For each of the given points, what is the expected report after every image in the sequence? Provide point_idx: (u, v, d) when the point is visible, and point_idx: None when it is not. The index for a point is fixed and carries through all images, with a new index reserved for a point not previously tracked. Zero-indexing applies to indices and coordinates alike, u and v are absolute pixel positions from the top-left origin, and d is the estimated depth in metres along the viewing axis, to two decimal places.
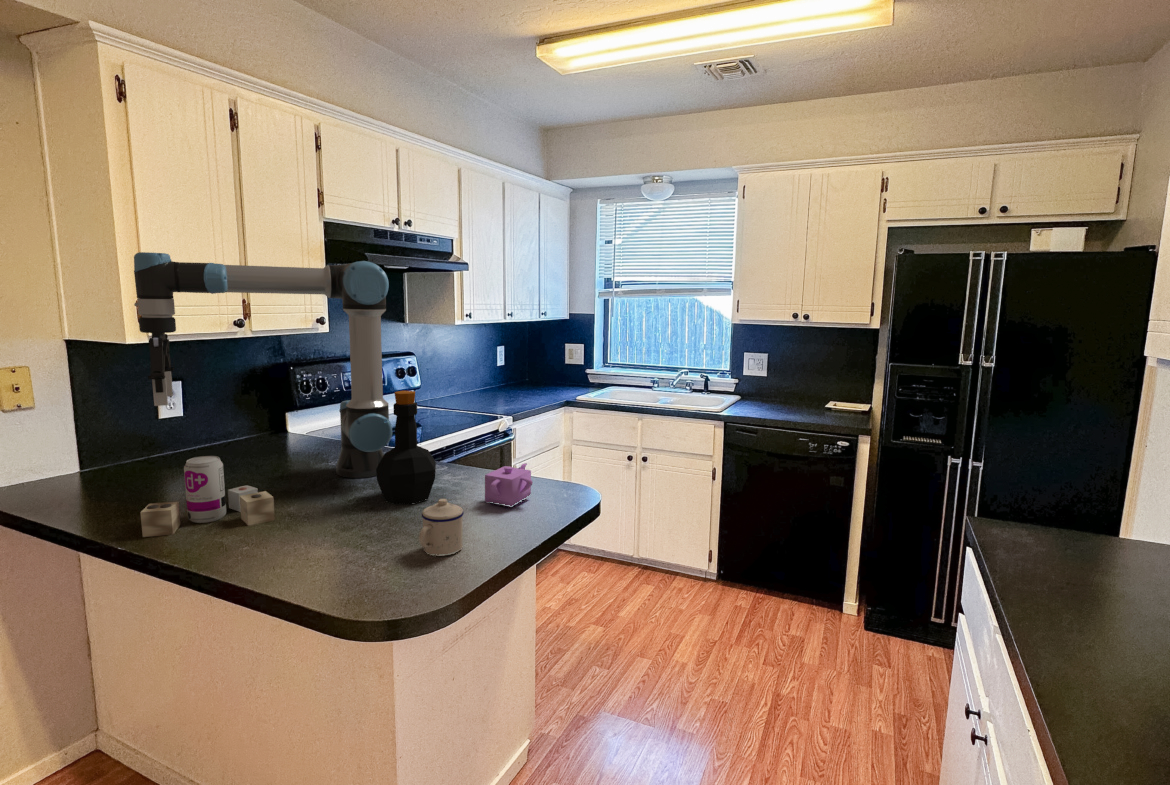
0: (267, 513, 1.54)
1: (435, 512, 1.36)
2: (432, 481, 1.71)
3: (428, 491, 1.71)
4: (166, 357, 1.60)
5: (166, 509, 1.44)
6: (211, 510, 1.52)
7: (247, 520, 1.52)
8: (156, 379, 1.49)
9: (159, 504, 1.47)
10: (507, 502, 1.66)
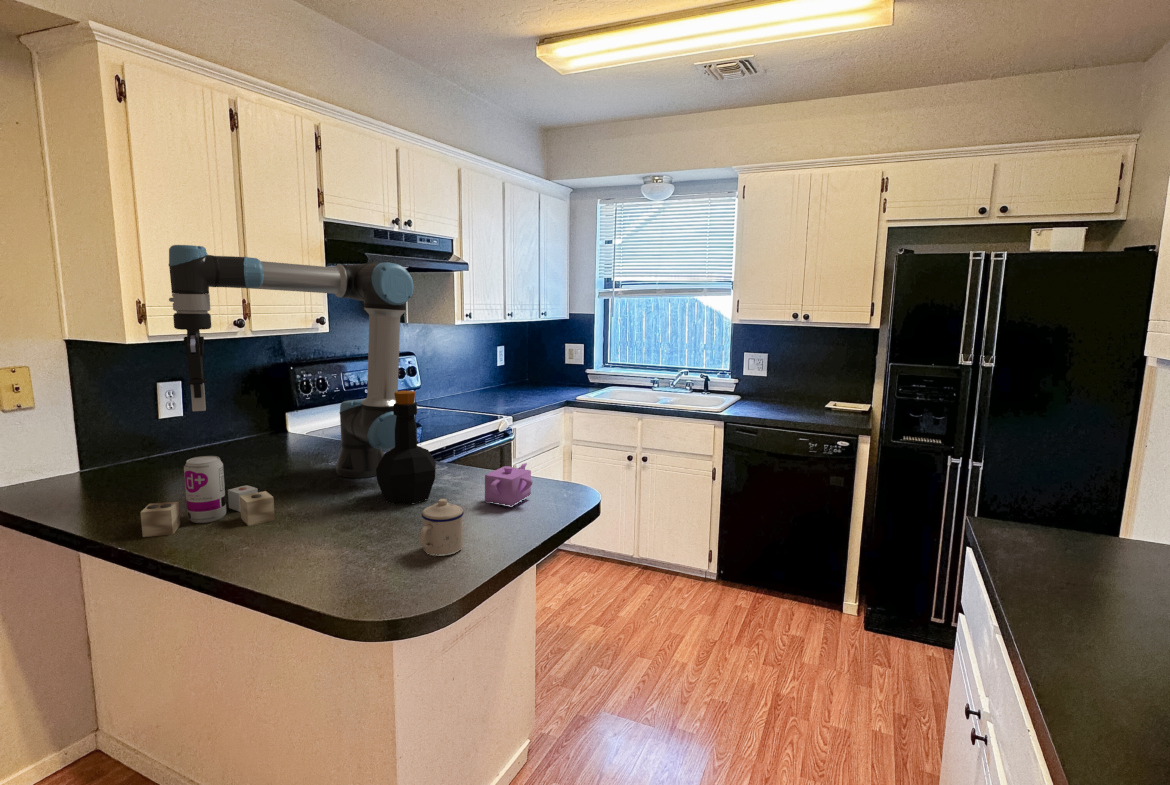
0: (267, 513, 1.54)
1: (435, 512, 1.36)
2: (432, 481, 1.71)
3: (428, 491, 1.71)
4: None
5: (166, 509, 1.44)
6: (211, 510, 1.52)
7: (247, 520, 1.52)
8: (195, 384, 1.48)
9: (159, 504, 1.47)
10: (507, 502, 1.66)
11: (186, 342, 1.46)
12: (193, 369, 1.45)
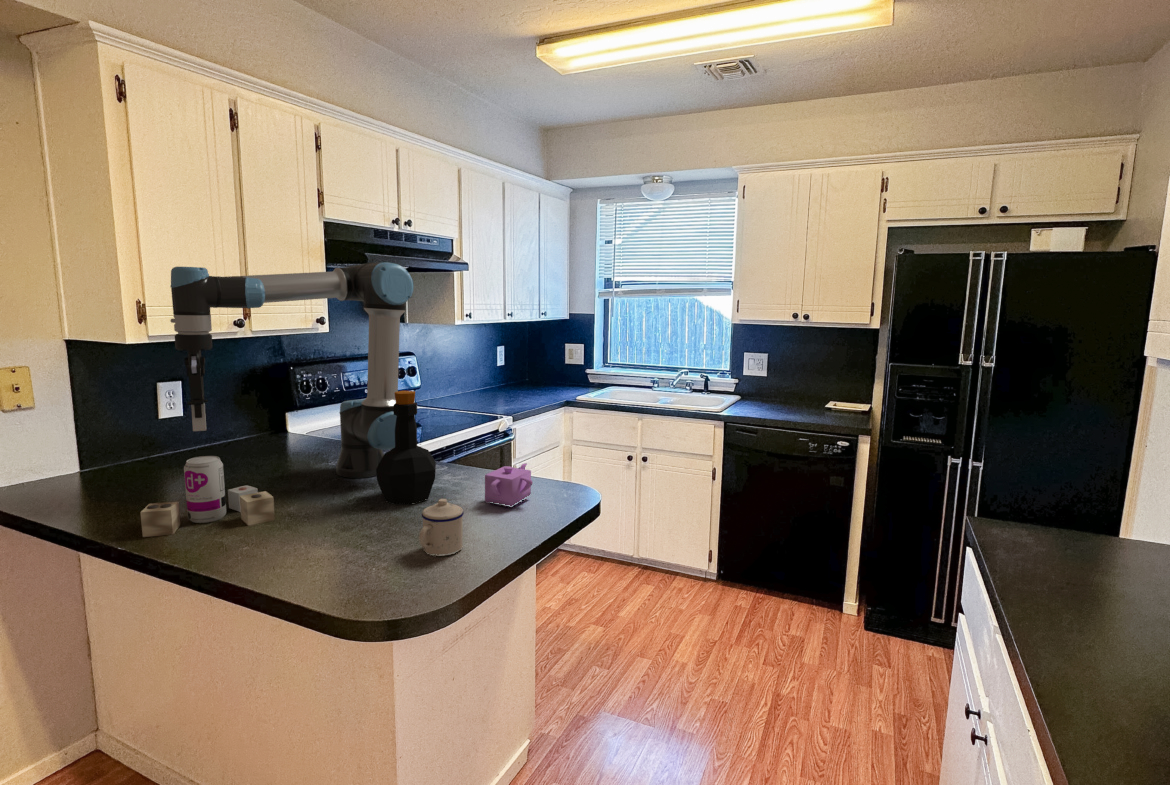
0: (267, 513, 1.54)
1: (435, 512, 1.36)
2: (432, 481, 1.71)
3: (428, 491, 1.71)
4: None
5: (166, 509, 1.44)
6: (211, 510, 1.52)
7: (247, 520, 1.52)
8: (195, 405, 1.49)
9: (159, 504, 1.47)
10: (507, 502, 1.66)
11: (187, 363, 1.47)
12: (194, 390, 1.46)
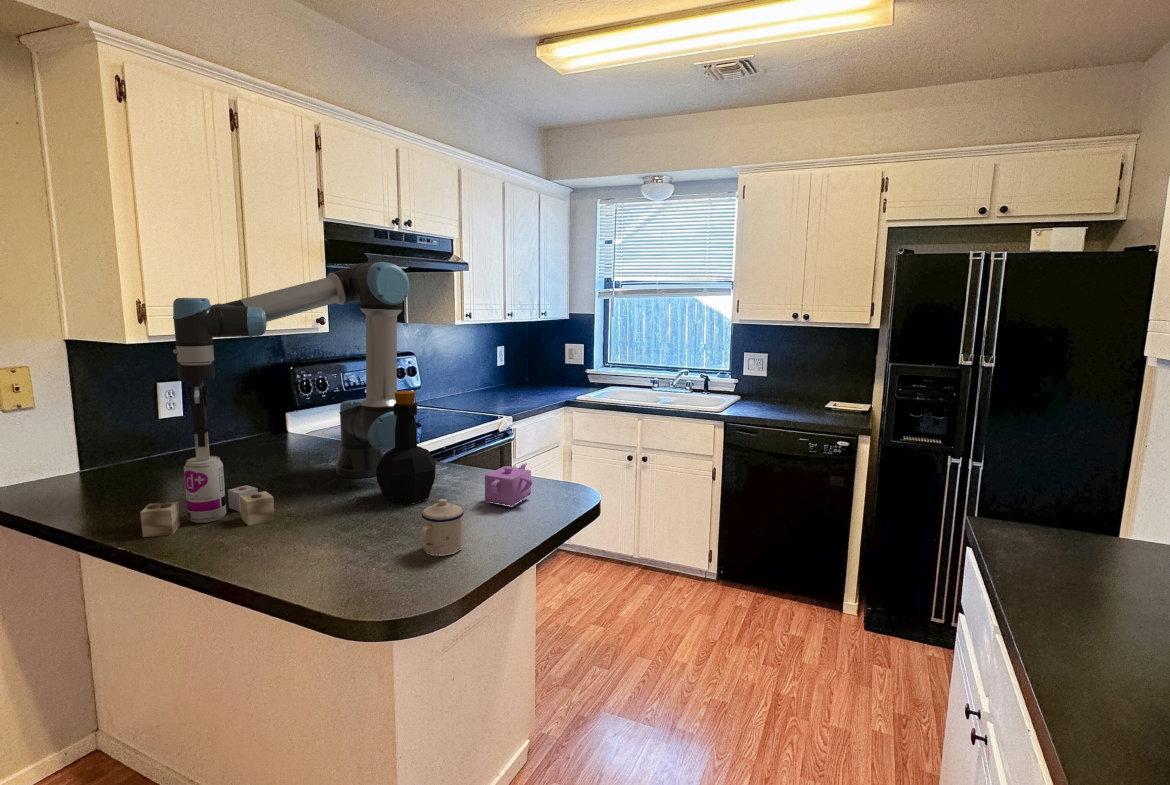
0: (267, 513, 1.54)
1: (435, 512, 1.36)
2: (432, 481, 1.71)
3: (428, 491, 1.71)
4: None
5: (166, 509, 1.44)
6: (211, 510, 1.52)
7: (247, 520, 1.52)
8: (199, 434, 1.50)
9: (159, 504, 1.47)
10: (507, 502, 1.66)
11: (190, 393, 1.48)
12: (197, 420, 1.47)
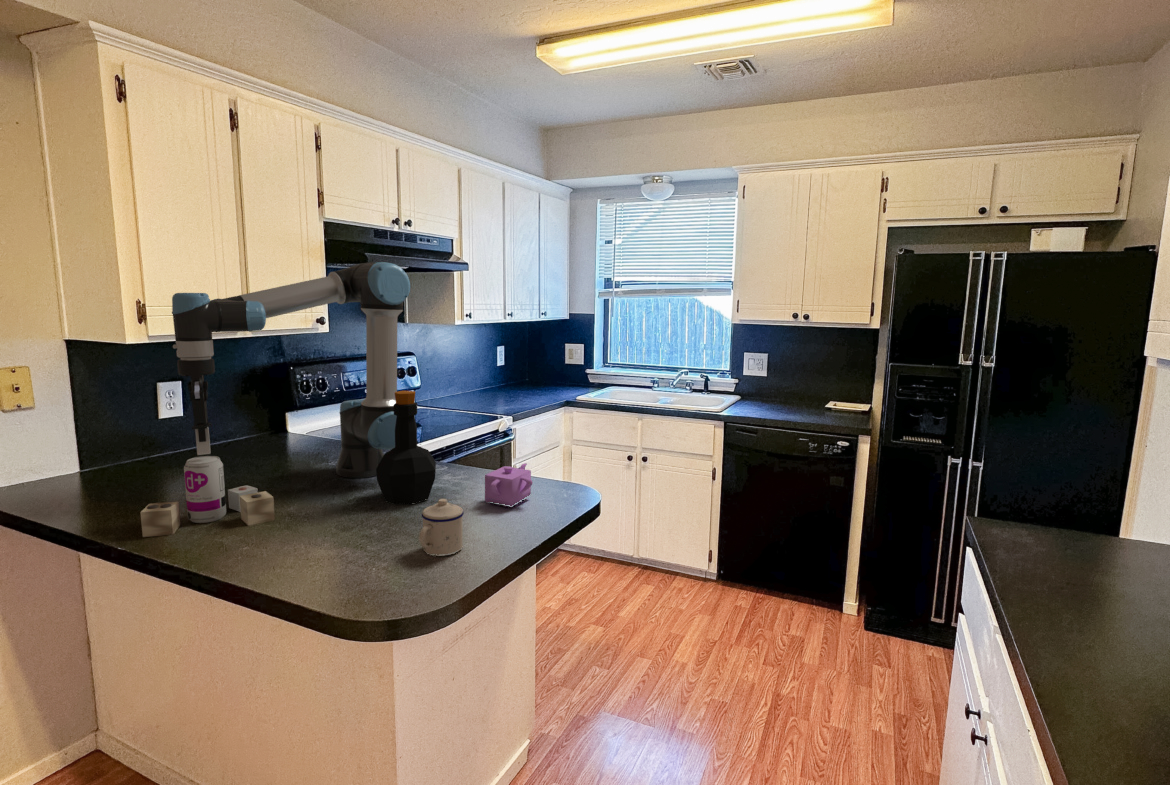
0: (267, 513, 1.54)
1: (435, 512, 1.36)
2: (432, 481, 1.71)
3: (428, 491, 1.71)
4: None
5: (166, 509, 1.44)
6: (211, 510, 1.52)
7: (247, 520, 1.52)
8: (199, 429, 1.50)
9: (159, 504, 1.47)
10: (507, 502, 1.66)
11: (190, 388, 1.48)
12: (197, 415, 1.47)
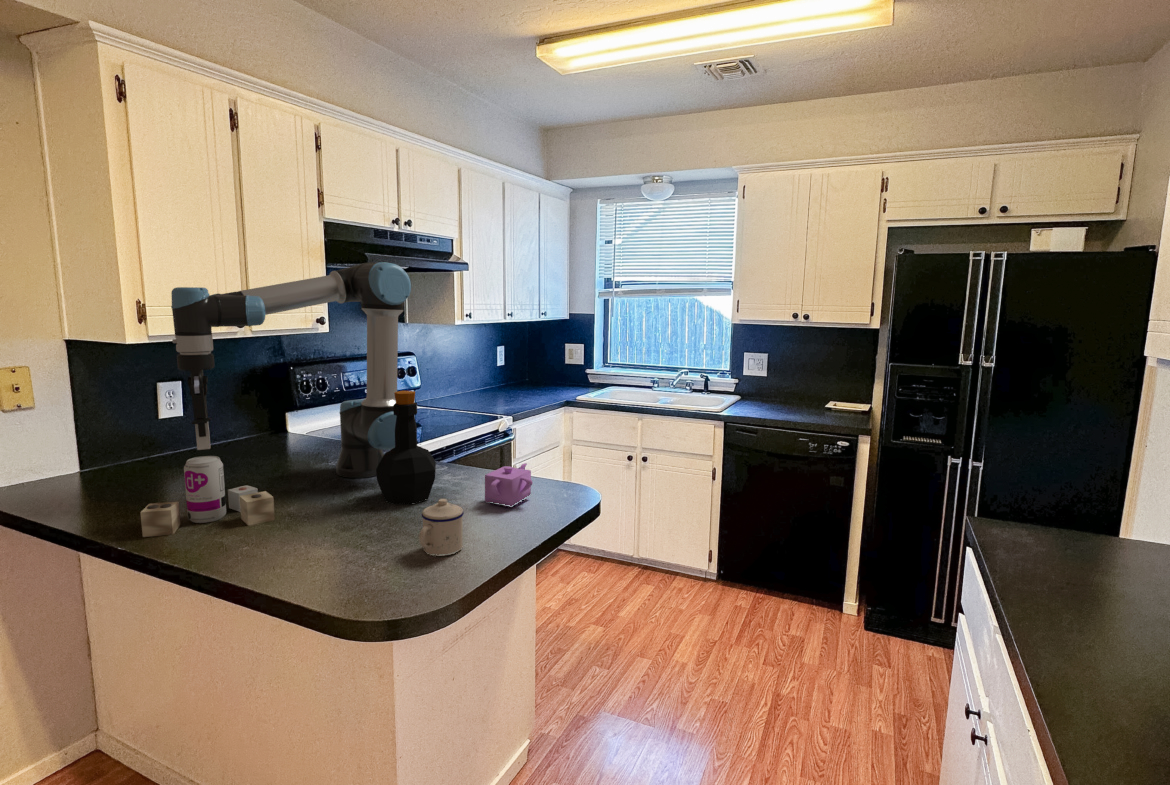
0: (267, 513, 1.54)
1: (435, 512, 1.36)
2: (432, 481, 1.71)
3: (428, 491, 1.71)
4: (204, 399, 1.52)
5: (166, 509, 1.44)
6: (211, 510, 1.52)
7: (247, 520, 1.52)
8: (199, 424, 1.50)
9: (159, 504, 1.47)
10: (507, 502, 1.66)
11: (190, 383, 1.48)
12: (197, 409, 1.47)
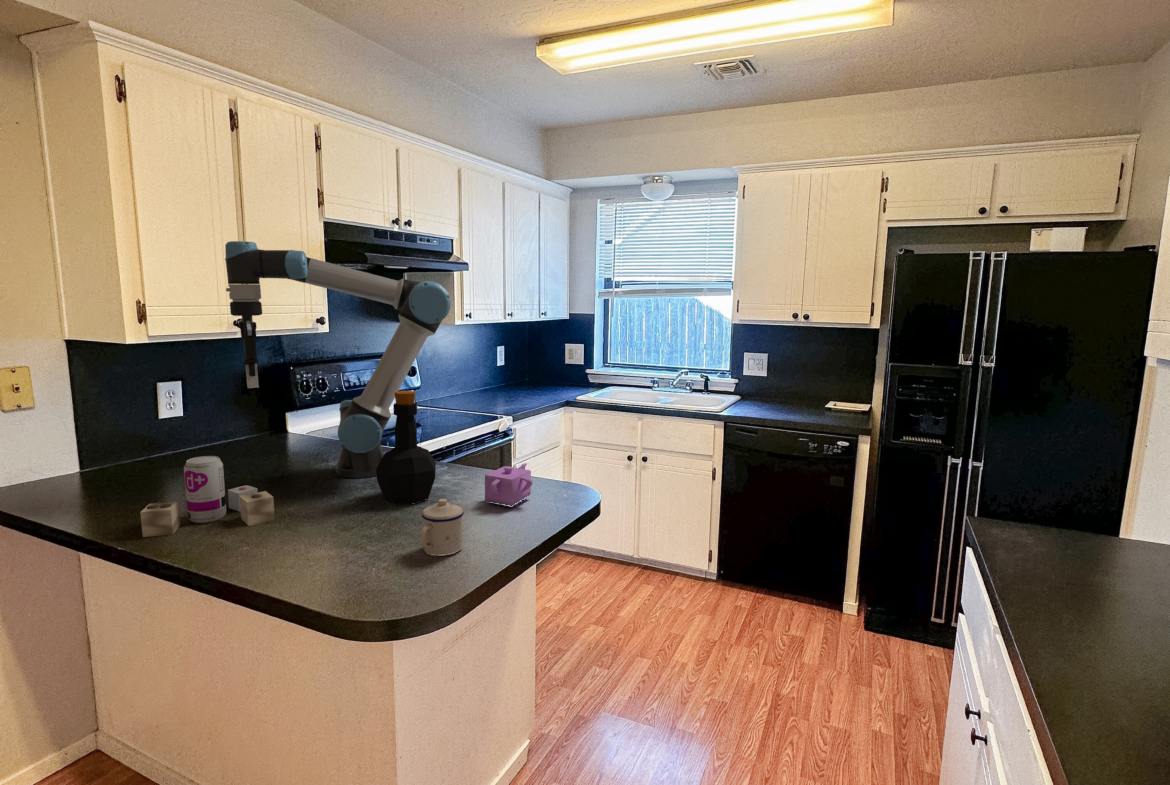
0: (267, 513, 1.54)
1: (435, 512, 1.36)
2: (432, 481, 1.71)
3: (428, 491, 1.71)
4: None
5: (166, 509, 1.44)
6: (211, 510, 1.52)
7: (247, 520, 1.52)
8: (250, 364, 1.68)
9: (159, 504, 1.47)
10: (507, 502, 1.66)
11: (242, 327, 1.66)
12: (249, 350, 1.66)
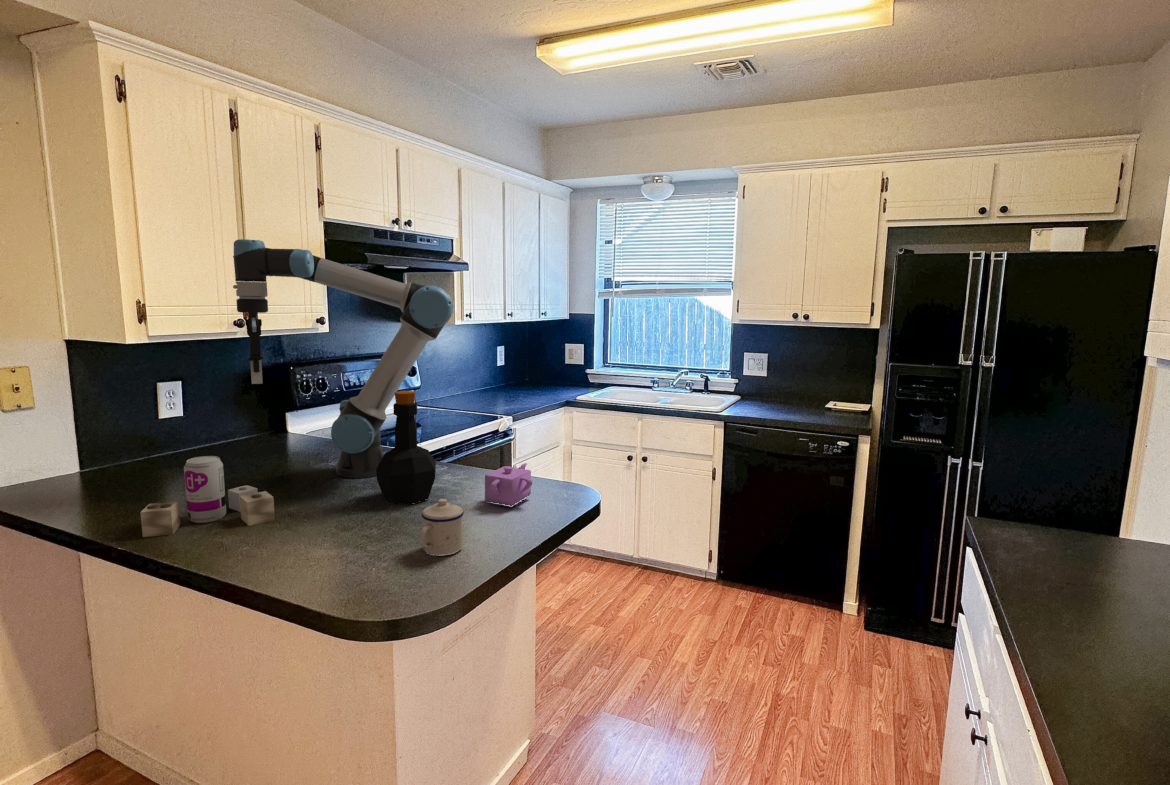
0: (267, 513, 1.54)
1: (435, 512, 1.36)
2: (432, 481, 1.71)
3: (428, 491, 1.71)
4: None
5: (166, 509, 1.44)
6: (211, 510, 1.52)
7: (247, 520, 1.52)
8: (254, 360, 1.71)
9: (159, 504, 1.47)
10: (507, 502, 1.66)
11: (247, 323, 1.69)
12: (254, 347, 1.68)
